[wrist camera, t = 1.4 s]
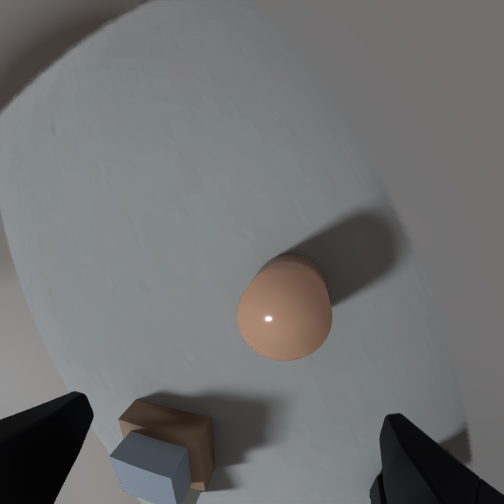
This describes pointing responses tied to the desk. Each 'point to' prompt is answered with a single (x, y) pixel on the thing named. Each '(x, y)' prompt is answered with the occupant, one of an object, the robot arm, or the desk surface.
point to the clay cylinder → (286, 309)
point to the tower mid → (152, 469)
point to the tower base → (175, 435)
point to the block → (189, 499)
